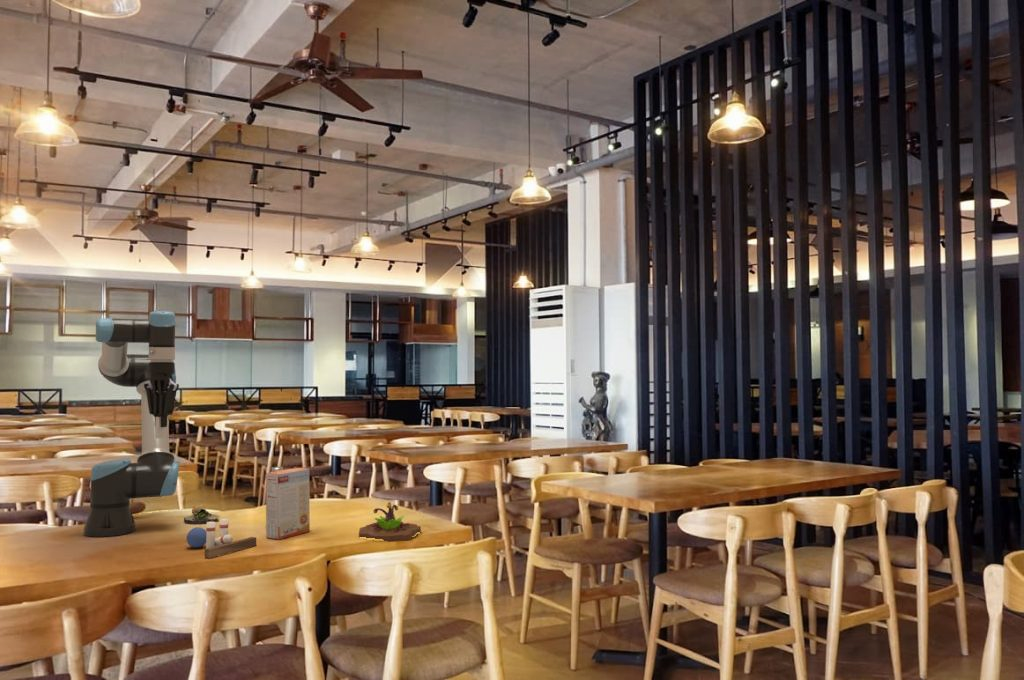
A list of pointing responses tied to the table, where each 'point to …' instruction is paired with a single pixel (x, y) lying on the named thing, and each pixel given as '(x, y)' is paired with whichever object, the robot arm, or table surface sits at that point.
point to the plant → (389, 527)
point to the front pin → (223, 540)
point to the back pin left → (223, 527)
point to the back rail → (230, 547)
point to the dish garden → (199, 516)
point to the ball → (196, 537)
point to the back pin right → (210, 535)
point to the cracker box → (287, 503)
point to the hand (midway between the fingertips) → (160, 437)
